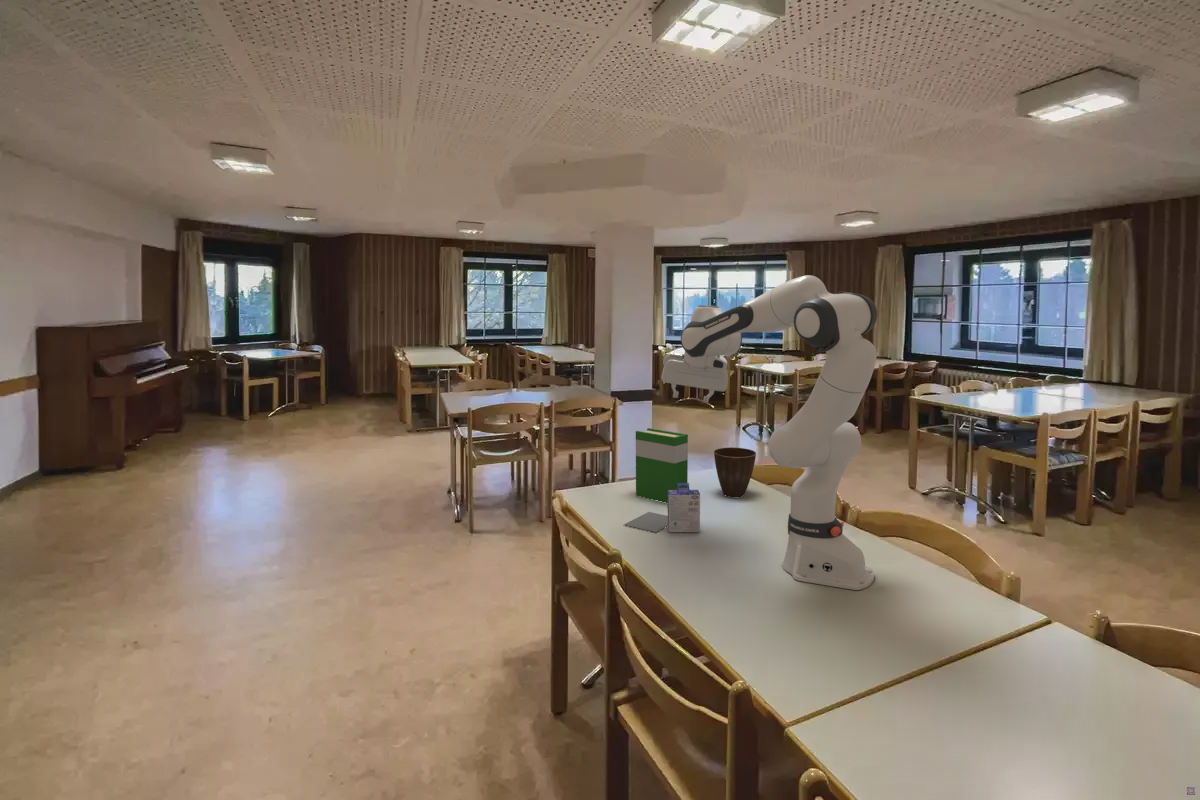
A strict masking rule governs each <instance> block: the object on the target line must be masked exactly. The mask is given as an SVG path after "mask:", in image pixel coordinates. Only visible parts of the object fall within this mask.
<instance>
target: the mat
mask: <svg viewBox="0 0 1200 800" xmlns="http://www.w3.org/2000/svg"><path fill="white" fill-rule="evenodd" d="M624 525H625V526H624ZM623 526H624V527H627V526H629V527H628V528H631V527H633V528H632V529H635V528H637V529H636V530H640V529H641V530H642V531H644V530H646V531H645V532H648V531H650V533H653V532H654V533H653V534H657V532H658V533H660V532H661V531H663V530H665V529H666V528H668V527H667V526H668V515H664V514H662V513H661V514H660V513H656V512H651V511H647V512H645V513H644V514H641V515H640V516H638V517H636V518H633V519H631V520H630V521H628V522H626V523H624V524H623ZM665 527H666V528H665ZM664 528H665V529H664ZM662 529H663V530H662ZM641 530H640V531H641ZM660 530H661V531H660Z"/></svg>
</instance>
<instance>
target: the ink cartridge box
mask: <svg viewBox="0 0 1200 800" xmlns="http://www.w3.org/2000/svg"><path fill="white" fill-rule="evenodd" d="M682 485H685V486H687V488H679V486H682ZM667 516H668V527H667V532H668V533H700V531H701V530H700V527H701V492H700V491H699V489H690V483H689V482H687V483H677V490H668V504H667Z"/></svg>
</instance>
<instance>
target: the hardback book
mask: <svg viewBox="0 0 1200 800" xmlns="http://www.w3.org/2000/svg"><path fill="white" fill-rule="evenodd" d="M688 434H689V433H688ZM688 434H687V433H682V432H675V431H669V430H662V429H657V428H656V429H655V428H649V427H647V429H646V430H645V431H641V430H635V496H636V495H637V496H636V497H639V496H641V497H640V498H643V497H645V498H644V499H647V498H649V499H648V500H651V499H653V500H652V501H655V500H658V501H662V502H666V503H668V490H677V483H688V480H689V479H688V475H689V474H688V468H689V467H688V466H689V465H688V463H689V462H688V460H689V457H688V455H689V454H688V453H689V452H688V449H689V448H688V445H689V444H688V443H689V437H688V436H689V435H688ZM679 488H687V486H685V485H682V486H679ZM658 501H657V502H658ZM662 502H661V503H662ZM666 503H665V504H666Z"/></svg>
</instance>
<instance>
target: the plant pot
mask: <svg viewBox="0 0 1200 800" xmlns="http://www.w3.org/2000/svg"><path fill="white" fill-rule="evenodd" d="M713 455H714V463H715V470H716V475H717V479H718V482H719V485H720V489H721V491H722V495H723V496H725V495H726V496H725V497H727V496H730V497H729V498H732V497H739V498H742V497H741V496H743V495H744V496H745V494H746V492H747V489H748V487H749V484H750V481H751V478H752V475H753V471H754V467H755V464H756V457H757V452H756V451H755V450H753V449H749V448H745V447H734V446H733V447H720V448H716V449H714V451H713ZM744 496H743V497H744Z"/></svg>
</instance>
